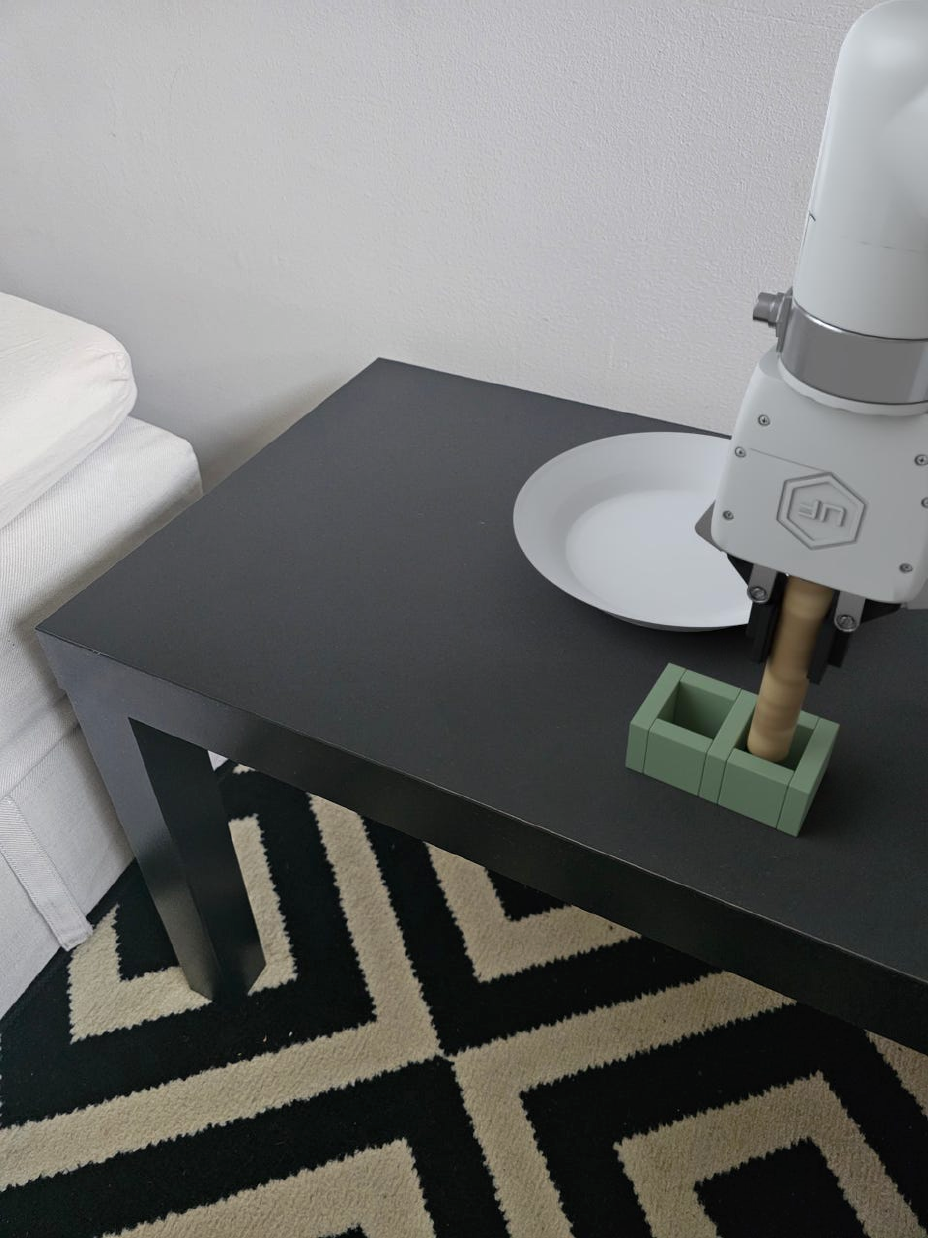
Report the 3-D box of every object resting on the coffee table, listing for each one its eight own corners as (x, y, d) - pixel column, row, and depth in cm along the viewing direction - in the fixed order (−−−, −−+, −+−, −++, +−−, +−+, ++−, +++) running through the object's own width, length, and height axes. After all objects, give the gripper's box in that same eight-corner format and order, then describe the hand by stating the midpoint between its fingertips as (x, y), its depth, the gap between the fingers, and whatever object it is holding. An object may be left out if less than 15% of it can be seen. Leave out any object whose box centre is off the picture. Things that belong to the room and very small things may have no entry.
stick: (794, 741, 59) (845, 564, 51) (782, 768, 58) (833, 590, 49) (754, 727, 60) (798, 550, 52) (741, 752, 59) (784, 575, 50)
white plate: (882, 523, 81) (893, 485, 78) (769, 716, 65) (779, 676, 63) (604, 440, 92) (607, 405, 89) (451, 589, 76) (449, 551, 74)
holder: (826, 768, 62) (840, 724, 59) (796, 837, 58) (810, 793, 56) (662, 706, 66) (669, 662, 64) (625, 766, 63) (629, 722, 60)
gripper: (662, 336, 43) (627, 649, 55) (1073, 430, 37) (931, 760, 49) (723, 274, 48) (679, 574, 60) (1097, 347, 42) (962, 667, 54)
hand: (792, 655), depth 54 cm, fingers closed on stick, 2 cm apart
